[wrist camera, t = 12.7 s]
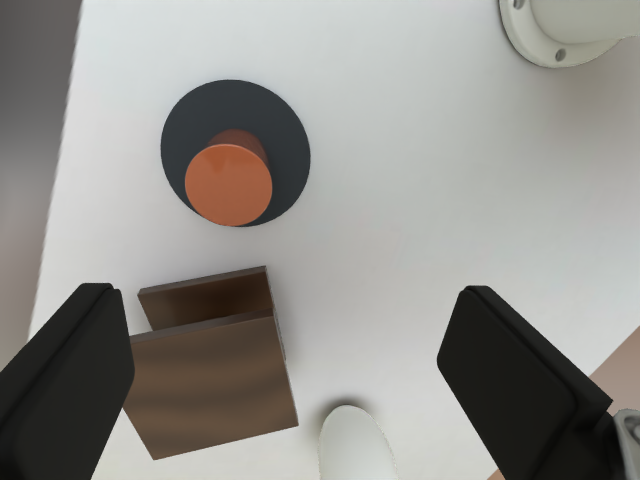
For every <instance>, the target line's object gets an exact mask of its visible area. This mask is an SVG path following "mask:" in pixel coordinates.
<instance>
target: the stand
mask: <svg viewBox="0 0 640 480" xmlns="http://www.w3.org/2000/svg"><path fill="white" fill-rule="evenodd" d="M137 296H138V298H139V301H140V303H141V305H142V307H143V310H144V312H145V314H146V316H147V318H148V321H149V323H150V325H151V327H152V330H153V331H152V332H147V333H142V334H137V335H132V336H129V338H130V344H131V349H132V355H133V360H134V366H135V376H134V380H133V383H132V386H131V388H130V390H129V393H128V395H127V397H126V400H125V402H124V404H123V406H122V407H123V409H124V411H125V412H126V414H127V416H128V417H129V419H130V421H131V423H132V424H133V426H134V428H135V429H136V431H137V433H138V435H139V436H140V438H141V440H142V441H143V443H144V445H145V447H146V448H147V450H148V452H149V453H150V455H151V457H152V459H153V460H158V459H162V458H166V457H170V456H175V455H179V454H183V453H187V452H191V451H196V450H200V449H204V448H208V447H212V446H217V445H221V444H225V443H229V442H233V441H238V440H242V439H246V438H250V437H254V436H259V435H263V434H267V433H271V432H275V431H280V430H284V429H288V428H292V427H296V426H299V423H298V415H297V411H296V406H295V402H294V397H293V393H292V388H291V384H290V379H289V375H288V371H287V366H286V362H285V361H286V357H285V351H284V346H283V342H282V337H281V333H280V328H279V324H278V319H277V315H276V310H275V306H274V301H273V297H272V292H271V288H270V283H269V279H268V274H267V270H266V266H262V267H256V268H251V269H245V270H240V271H235V272H229V273H224V274H219V275H213V276H208V277H202V278H197V279H192V280H186V281H181V282H176V283H170V284H165V285H159V286H154V287H149V288H143V289H140V291H139V293H138V295H137Z"/></svg>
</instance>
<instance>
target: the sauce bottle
mask: <svg viewBox="0 0 640 480" xmlns="http://www.w3.org/2000/svg"><path fill="white" fill-rule="evenodd" d="M318 461H319V472H320V479H321V480H399V477H398V472H397V468H396V464H395V460H394V457H393V454H392V451H391V448H390V446H389V443H388V441H387V439H386V437H385V435H384V433H383V432H382V430H381V428H380V427H379V425H378V424H377V423H376V421H375V420H374V419H373V418H372V417H371V416H370V415H369V414H368V413H367V412H365V411H364V410H363V409H361V408H358V407H354V406H351V405H343V406H339V407H337V408H335V409H334V410H333V411H332V412H331V413H330V414H329V415H328V416H327V418H326V419H325V421H324V424H323V427H322V430H321V434H320V439H319V446H318Z"/></svg>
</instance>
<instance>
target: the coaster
mask: <svg viewBox="0 0 640 480" xmlns="http://www.w3.org/2000/svg"><path fill="white" fill-rule="evenodd" d="M227 129H241V130H245V131H247V132H250V133H251V134H253V135H254V136H256V137H257V138H258V139H259V140H260V141H261V142H262V144H263V145H264V147H265V149H266V151H267V154H268V158H269V165H270V172H271V180H272V195H271V199H270V202H269V204H268V206H267V208H266V209H265V211H264V212H263V213H262V214H261V215H260V216H259V217H257V218H256V219H255V220H253V221H251V222H249V223H247V224H243V225H239V226H233V227H249V226H255V225H260V224H263V223H266V222H269V221H271V220H273V219H275V218H277V217H278V216H280V215H282V214H283V213H284V212H285V211H287V210H288V209H289V208H290V207H291V206H292V205H293V204H294V203H295V201H296V200H297V199H298V198H299V196H300V194H301V193H302V191H303V189H304V187H305V184H306V182H307V178H308V175H309V169H310V148H309V143H308V139H307V135H306V133H305V130H304V127H303V125H302V124H301V122H300V120H299V118H298V117H297V115H296V114H295V112H294V111H293V110H292V109H291V108H290V107H289V105H288V104H287V103H286V102H285V101H283V100H282V99H281V98H280V97H279V96H278V95H276V94H274V93H273V92H271V91H270V90H268V89H266V88H264V87H262V86H260V85H257V84H254V83H251V82H246V81H241V80H219V81H214V82H210V83H206V84H204V85H202V86H199V87H197V88H195V89H194V90H192V91H190V92H189V93H187V94H186V95H185V96H184V97H183V98H182V99H180V100H179V102H178V103H177V104H176V105H175V106H174V108H173V109H172V111H171V112H170V114H169V116H168V118H167V120H166V122H165V125H164V128H163V132H162V137H161V159H162V164H163V168H164V171H165V174H166V177H167V179H168V181H169V183H170V185H171V187H172V188H173V190H174V191H175V193H176V194H177V195H178V197H179V198H180V199H181V200H182V201H183V202H184V203H185V204H186V205H187V206H188V207H189V208H190V209H192V210H193V211H194V212H195V213H197V214H199V213H198V212H197V211H196V210H195V208H194V207H193V206H192V204H191V202H190V201H189V198H188V196H187V193H186V188H185V176H186V172H187V169H188V166H189V164H190V163H191V161H192V160H193V158H194V157H195V156H196V155H197V154H198V153H199V152H200V150H201V149H202V148H203V147H204V146H205V145H206V144H207V143H208V141H209V140H210V139H211V138H212V137H213V136H214V135H215V134H217V133H219V132H221V131H223V130H227ZM199 215H200V214H199ZM200 216H202V215H200ZM202 217H203V216H202Z"/></svg>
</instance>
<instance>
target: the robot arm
mask: <svg viewBox="0 0 640 480" xmlns="http://www.w3.org/2000/svg"><path fill="white" fill-rule="evenodd" d="M500 10H501V15H502V21H503V25H504V27H505V30H506V32H507V35H508V38H509V39H510V41H511V42H512V44H513V45H514V47H515V48H516V50H517V51H518V52H519V53H520V54H521V55H522V56H523V57H525V58H526V59H527V60H529V61H531V62H533V63H535V64H537V65H539V66H544V67H549V68H557V67H570V66H576V65H581V64H583V63H586V62H588V61H591V60H593V59H595V58H597V57H598V56H600V55H602V54H603V53H605V52H606V51H608V50H609V49H610V48H612V47H613V46H614V45H615V44H616V43H618V42H619V41H620V40H621V39H622V38H624V37H632V36H640V0H500ZM437 365H438V368H439V370H440V372H441V374H442V375H443V377H444V379H445V380H446V382H447V383H448V385H449V387H450V388H451V390H452V392H453V393H454V395H455V397H456V398H457V400H458V402H459V403H460V405H461V407H462V408H463V410H464V412H465V413H466V415H467V417H468V418H469V420H470V422H471V423H472V425H473V427H474V428H475V430H476V432H477V433H478V435H479V437H480V438H481V440H482V442H483V443H484V445H485V446H486V448H487V450H488V451H489V453H490V455H491V456H492V458H493V460H494V461H495V463H496V465H497V466H498V468H499V470H500V471H501V473H502V475H503V476H504V478H505V480H640V411H638V410H633V409H622V410H619V411H618V412H617V413H616V414H615V415H614V417H612V416H611V415H610V414H609V413H608V412H607V409H608V407H609V406H610V405H611V403H612V401H613V400H612V399H611V398H610V397H609V396H608V395H607V394H606V393H605V392H603V391H602V390H601V389H600V388H599V387H598V386H597V385H596V384H595V383H594V382H593V381H592V380H590V379H589V378H588V377H587V376H586V375H585V374H584V373H583V372H582V371H581V370H580V369H579V368H577V367H576V366H575V365H574V364H573V363H572V362H571V361H570V360H569V359H568V358H567V357H565V356H564V355H563V354H562V353H561V352H560V351H559V350H558V349H557V348H556V347H555V346H553V345H552V344H551V343H550V342H549V341H548V340H547V339H546V338H545V337H544V336H543V335H541V334H540V333H539V332H538V331H537V330H536V329H535V328H534V327H533V326H532V325H531V324H529V323H528V322H527V321H526V320H525V319H524V318H523V317H522V316H521V315H520V314H519V313H517V312H516V311H515V310H514V309H513V308H512V307H511V306H510V305H509V304H508V303H507V302H506V301H504V300H503V299H502V298H501V297H500V296H499V295H498V294H497V293H496V292H495V291H494V290H492V289H491V288H490V287H488V286H466V287H465V288H464V290H463V291H461V292H460V293H459V295H458V298H457V301H456V304H455V307H454V310H453V312H452V315H451V318H450V321H449V324H448V327H447V330H446V333H445V335H444V338H443V341H442V344H441V347H440V350H439V353H438V356H437ZM134 376H135V366H134V360H133V355H132V349H131V344H130V338H129V333H128V327H127V322H126V316H125V311H124V305H123V300H122V294H121V291H120V290H119V289H114V288H113V286H112V284H110V283H83V284H81V285H80V286H79V287H78V288H77V289H76V290H75V291H74V292H73V293H72V295H71V296H70V297H69V298H68V299H67V300H66V301H65V302H64V303H63V305H62V306H61V307H60V308H59V309H58V310H57V311H56V312H55V313H54V315H53V316H52V317H51V318H50V319H49V320H48V321H47V322H46V323H45V324H44V326H43V327H42V328H41V329H40V330H39V331H38V332H37V333H36V334H35V336H34V337H33V338H32V339H31V340H30V341H29V342H28V343H27V344H26V345H25V346H24V347H23V348H22V349H21V350H20V351H19V353H18V354H17V355H16V356H15V357H14V358H13V359H12V360H11V361H10V362H9V363H8V365H7V366H6V367H5V368H4V369H3V370H2V371H1V372H0V480H91V477H92V475H93V473H94V471H95V468H96V466H97V464H98V461H99V459H100V457H101V455H102V452H103V450H104V448H105V445H106V443H107V441H108V438H109V436H110V434H111V432H112V429H113V427H114V425H115V422H116V420H117V418H118V416H119V413H120V411H121V409H122V406H123V404H124V402H125V400H126V397H127V395H128V393H129V390H130V388H131V386H132V383H133V380H134Z"/></svg>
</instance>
